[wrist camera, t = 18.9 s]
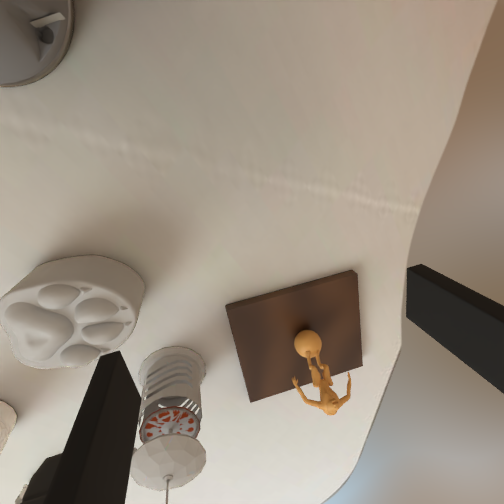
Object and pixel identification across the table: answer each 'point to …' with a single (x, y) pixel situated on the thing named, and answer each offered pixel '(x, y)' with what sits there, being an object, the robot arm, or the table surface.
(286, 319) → the walnut board
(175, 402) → the french press
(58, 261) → the lumpy-topped squat cylinder
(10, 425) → the white cup
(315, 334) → the figurine
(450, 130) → the table surface
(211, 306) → the table surface
